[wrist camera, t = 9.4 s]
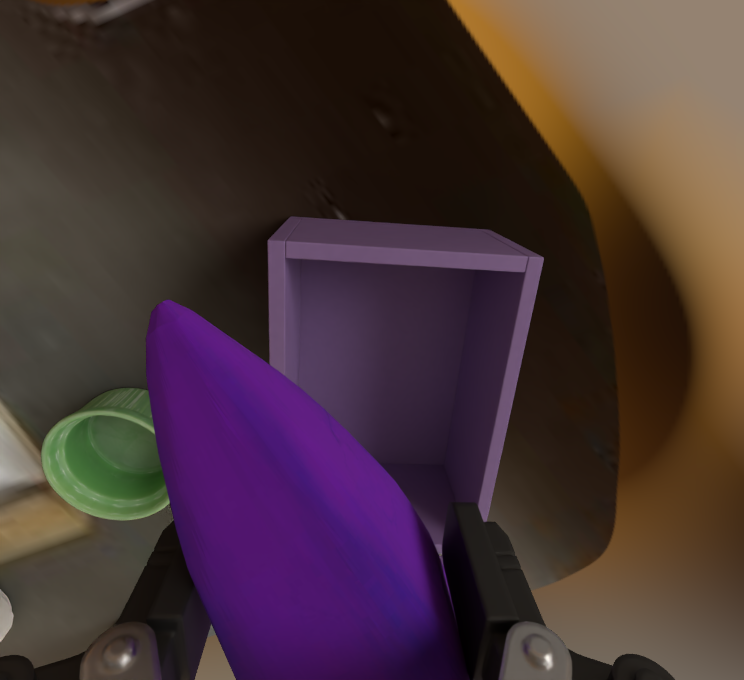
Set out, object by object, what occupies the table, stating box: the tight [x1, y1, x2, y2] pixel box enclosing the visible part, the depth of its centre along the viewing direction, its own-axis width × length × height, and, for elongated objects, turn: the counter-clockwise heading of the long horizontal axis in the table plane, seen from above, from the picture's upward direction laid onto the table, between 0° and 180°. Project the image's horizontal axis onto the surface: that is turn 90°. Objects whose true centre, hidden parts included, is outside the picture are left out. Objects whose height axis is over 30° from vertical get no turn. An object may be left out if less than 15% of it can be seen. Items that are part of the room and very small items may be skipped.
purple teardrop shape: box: [146, 300, 469, 680], centre depth 11 cm, size 5×5×15 cm
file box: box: [268, 217, 544, 554], centre depth 29 cm, size 19×13×9 cm
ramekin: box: [41, 388, 170, 520], centre depth 32 cm, size 9×9×4 cm
